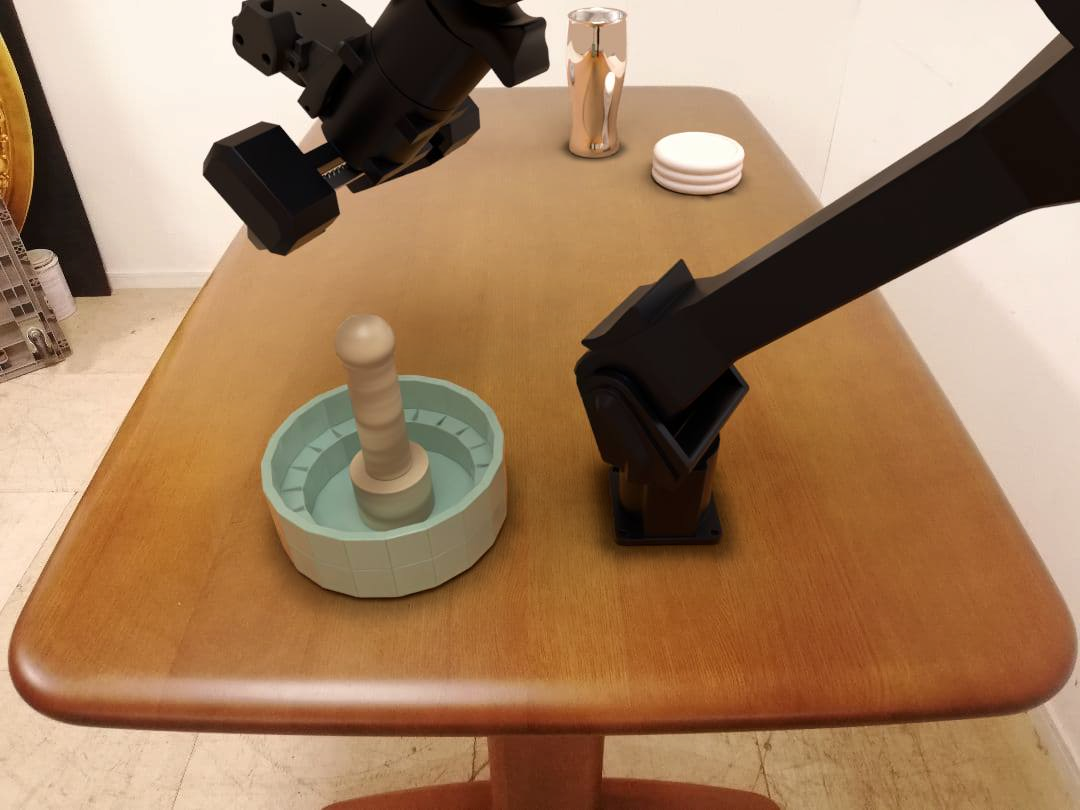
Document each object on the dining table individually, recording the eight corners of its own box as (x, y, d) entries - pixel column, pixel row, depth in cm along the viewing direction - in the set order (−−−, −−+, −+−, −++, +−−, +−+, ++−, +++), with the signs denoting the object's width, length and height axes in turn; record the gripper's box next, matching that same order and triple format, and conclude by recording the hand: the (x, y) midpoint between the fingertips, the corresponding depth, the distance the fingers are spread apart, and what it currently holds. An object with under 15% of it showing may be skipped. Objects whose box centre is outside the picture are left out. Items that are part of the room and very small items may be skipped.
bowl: (504, 601, 44) (499, 537, 41) (255, 604, 44) (229, 541, 41) (510, 434, 55) (506, 372, 52) (310, 437, 55) (293, 376, 52)
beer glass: (555, 143, 96) (555, 11, 87) (605, 133, 98) (610, 3, 89) (581, 163, 91) (583, 26, 82) (633, 153, 94) (641, 17, 84)
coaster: (668, 154, 93) (670, 125, 91) (750, 168, 90) (755, 138, 87) (638, 187, 86) (640, 156, 84) (726, 203, 83) (731, 171, 81)
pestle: (449, 493, 50) (424, 307, 41) (405, 544, 47) (367, 354, 38) (389, 469, 52) (353, 285, 43) (343, 516, 49) (293, 329, 40)
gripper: (423, -96, 46) (317, 73, 57) (167, -35, 33) (96, 166, 44) (543, 63, 48) (417, 196, 59) (343, 176, 35) (232, 318, 46)
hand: (305, 213), depth 52 cm, fingers open, 9 cm apart
